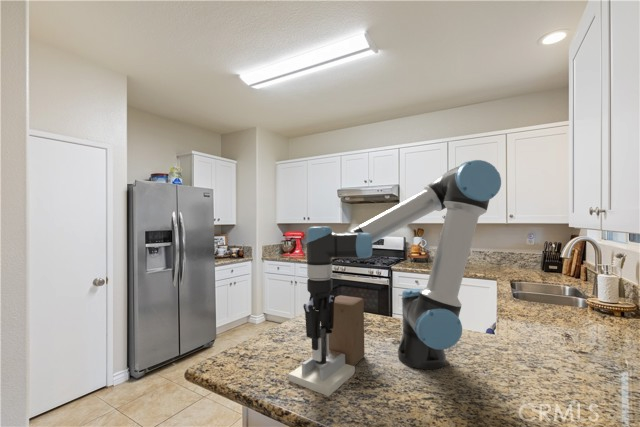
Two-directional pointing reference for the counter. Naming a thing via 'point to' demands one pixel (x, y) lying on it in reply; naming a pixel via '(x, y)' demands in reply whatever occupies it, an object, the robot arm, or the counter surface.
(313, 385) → the base
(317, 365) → the ram handle
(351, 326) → the wooden block
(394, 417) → the counter surface
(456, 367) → the counter surface
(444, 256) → the robot arm
